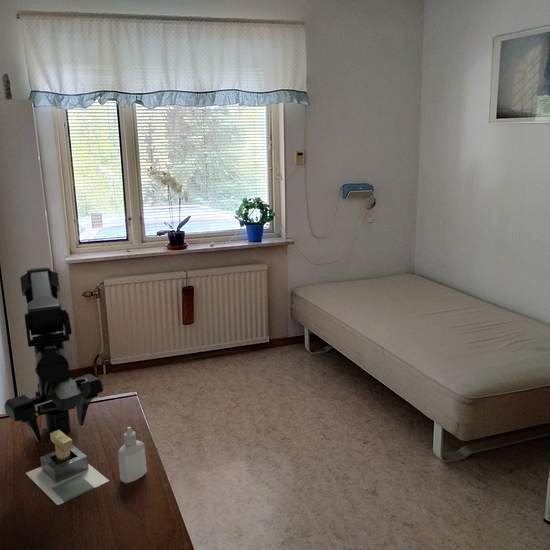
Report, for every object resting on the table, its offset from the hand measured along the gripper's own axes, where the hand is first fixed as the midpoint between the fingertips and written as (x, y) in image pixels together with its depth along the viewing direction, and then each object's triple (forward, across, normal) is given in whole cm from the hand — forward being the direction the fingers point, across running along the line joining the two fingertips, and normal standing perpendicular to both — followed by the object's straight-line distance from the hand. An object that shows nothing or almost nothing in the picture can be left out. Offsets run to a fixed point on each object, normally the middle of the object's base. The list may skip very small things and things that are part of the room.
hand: (60, 433), depth 118 cm
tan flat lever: (+8, 0, 0) cm, 9 cm away
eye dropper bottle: (+10, +9, -13) cm, 19 cm away
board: (+10, -1, -3) cm, 10 cm away
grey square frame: (+8, 0, 0) cm, 9 cm away
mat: (+8, -2, -8) cm, 12 cm away
